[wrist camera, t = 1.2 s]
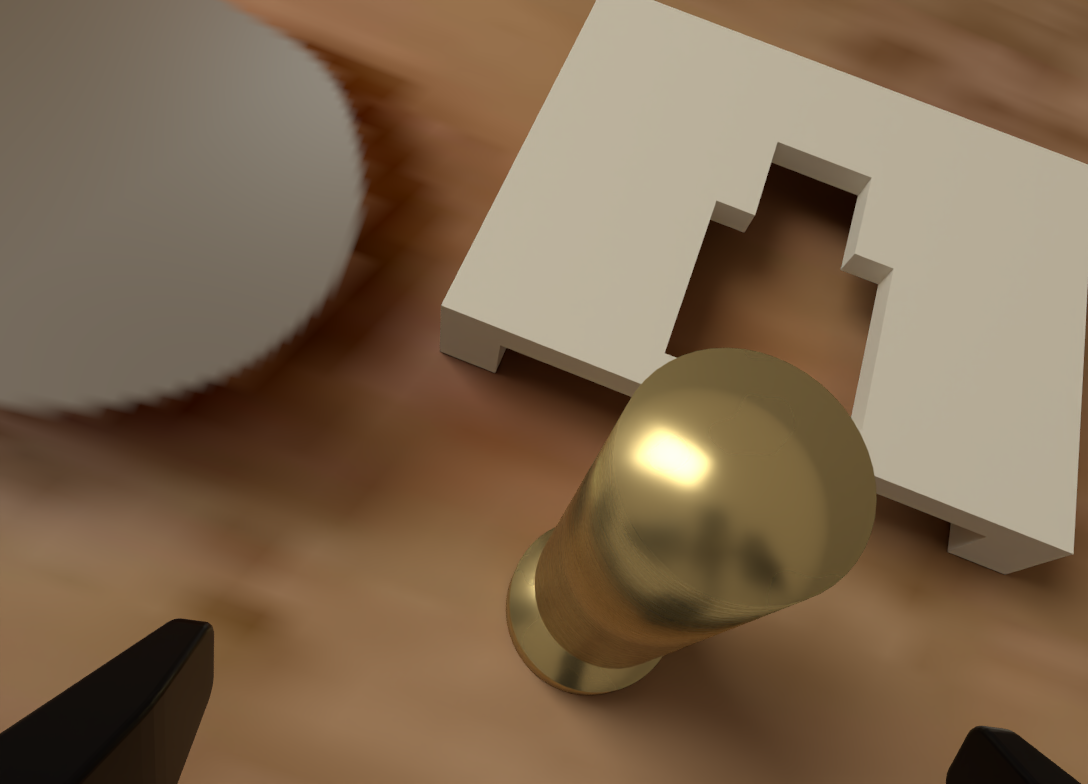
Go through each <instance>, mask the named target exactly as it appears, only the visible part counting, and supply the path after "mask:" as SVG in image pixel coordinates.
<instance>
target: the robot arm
mask: <svg viewBox="0 0 1088 784" xmlns="http://www.w3.org/2000/svg"><path fill="white" fill-rule="evenodd" d="M213 677H214V631H213V627H212V625H211V624H209V623H208V622H203V621H195V620H188V619H174V620H171V621H169V622H167V623H166V624H164V625H163V626H161V627H160V628H158V629H157V630H155V631H154V632H152V633H151V634H149V635H148V636H146V637H145V638H143V639H142V640H140V641H139V642H137V643H136V644H134V645H133V646H131V647H130V648H128V649H127V650H125V651H124V652H122V653H121V654H119V655H118V656H116V657H115V658H113V659H112V660H110V661H109V662H107V663H106V664H104V665H103V666H101V667H100V668H98V669H97V670H95V671H94V672H92V673H91V674H89V675H88V676H86V677H85V678H83V679H82V680H80V681H79V682H77V683H76V684H74V685H73V686H71V687H70V688H68V689H67V690H65V691H64V692H62V693H61V694H59V695H58V696H56V697H55V698H53V699H51V700H50V701H48V702H47V703H45V704H44V705H42V706H41V707H39V708H38V709H36V710H35V711H33V712H32V713H30V714H29V715H27V716H26V717H24V718H23V719H21V720H20V721H18V722H17V723H15V724H14V725H12V726H11V727H9V728H8V729H6V730H5V731H3V732H2V733H0V784H177V783H178V781H179V778H180V775H181V773H182V770H183V767H184V765H185V762H186V759H187V757H188V754H189V751H190V749H191V746H192V743H193V741H194V738H195V735H196V733H197V730H198V727H199V725H200V722H201V719H202V717H203V714H204V712H205V709H206V706H207V704H208V701H209V698H210V694H211V690H212V686H213ZM946 784H1081V783H1079V782H1078V781H1077V780H1076V779H1074V778H1073V777H1072V776H1070V775H1069V774H1068V773H1067V772H1065V771H1064V770H1063V769H1061V768H1060V767H1059V766H1057V765H1056V764H1055V763H1054V762H1052V761H1051V760H1050V759H1048V758H1047V757H1046V756H1045V755H1043V754H1042V753H1041V752H1039V751H1038V750H1037V749H1036V748H1034V747H1033V746H1032V745H1030V744H1029V743H1028V742H1026V741H1025V740H1024V739H1023V738H1021V737H1020V736H1019V735H1017V734H1016V733H1014V732H1012V731H1010V730H1007V729H1002V728H995V727H987V726H976V727H975V728H973V729H972V730H970V732H969V733H968V735H967V737H966V738H965V740H964V742H963V744H962V746H961V748H960V749H959V751H958V753H957V755H956V757H955V759H954V760H953V762H952V764H951V766H950V768H949V770H948V772H947V777H946Z"/></svg>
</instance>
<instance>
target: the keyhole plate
mask: <svg viewBox="0 0 1088 784" xmlns="http://www.w3.org/2000/svg"><path fill="white" fill-rule="evenodd" d="M771 162H772V163H774V164H777V165H779V166H782V167H785V168H787V169H790V170H793V171H795V172H798V173H800V174H803V175H806V176H808V177H811V178H813V179H816V180H819V181H821V182H824V183H827V184H829V185H832V186H834V187H837V188H840V189H842V190H845V191H847V192H850V193H853V194H855V195H858V197H857V202H856V206H855V210H854V214H853V219H852V223H851V227H850V232H849V236H848V240H847V245H846V249H845V253H844V257H843V262H842V266H841V270H842V271H845V272H847V273H850V274H852V275H855V276H857V277H860V278H863V279H865V280H868V281H870V282H873V283H876V284H878V288H877V293H876V298H875V303H874V308H873V313H872V318H871V323H870V328H869V332H868V337H867V342H866V347H865V352H864V357H863V362H862V367H861V372H860V377H859V382H858V387H857V392H856V396H855V401H854V406H853V411H852V416H851V418H852V420H853V421H854V423H855V425H856V427H857V428H858V430H859V432H860V434H861V435H862V438H863V440H864V442H865V445H866V447H867V449H868V452H869V455H870V459H871V462H872V465H873V470H874V476H875V482H876V494H879V495H881V496H884V497H887V498H889V499H892V500H894V501H897V502H899V503H902V504H904V505H907V506H909V507H912V508H914V509H917V510H920V511H922V512H925V513H927V514H930V515H932V516H935V517H937V518H940V519H942V520H945V521H947V522H950V523H951V527H950V535H949V543H948V550H947V552H949V553H951V554H954V555H956V556H959V557H962V558H964V559H967V560H969V561H972V562H974V563H977V564H979V565H982V566H984V567H987V568H989V569H992V570H994V571H997V572H1000V573H1002V574H1005V575H1006V574H1009V573H1012V572H1016V571H1019V570H1022V569H1026V568H1029V567H1032V566H1036V565H1039V564H1042V563H1046V562H1049V561H1052V560H1056V559H1059V558H1062V557H1066V556H1069V555H1072V554H1074V535H1075V516H1076V497H1077V478H1078V459H1079V440H1080V421H1081V402H1082V383H1083V364H1084V345H1085V326H1086V307H1087V288H1088V164H1085V163H1082V162H1080V161H1077V160H1074V159H1072V158H1069V157H1066V156H1064V155H1061V154H1058V153H1056V152H1053V151H1051V150H1048V149H1045V148H1043V147H1040V146H1037V145H1035V144H1032V143H1029V142H1027V141H1024V140H1021V139H1019V138H1016V137H1013V136H1011V135H1008V134H1006V133H1003V132H1000V131H998V130H995V129H992V128H990V127H987V126H984V125H982V124H979V123H976V122H974V121H971V120H968V119H966V118H963V117H961V116H958V115H955V114H953V113H950V112H947V111H945V110H942V109H939V108H937V107H934V106H931V105H929V104H926V103H923V102H921V101H918V100H916V99H913V98H910V97H908V96H905V95H902V94H900V93H897V92H894V91H892V90H889V89H886V88H884V87H881V86H879V85H876V84H873V83H871V82H868V81H865V80H863V79H860V78H857V77H855V76H852V75H849V74H847V73H844V72H841V71H839V70H836V69H834V68H831V67H828V66H826V65H823V64H820V63H818V62H815V61H812V60H810V59H807V58H804V57H802V56H799V55H796V54H794V53H791V52H789V51H786V50H783V49H781V48H778V47H775V46H773V45H770V44H767V43H765V42H762V41H759V40H757V39H754V38H752V37H749V36H746V35H744V34H741V33H738V32H736V31H733V30H730V29H728V28H725V27H722V26H720V25H717V24H714V23H712V22H709V21H707V20H704V19H701V18H699V17H696V16H693V15H691V14H688V13H685V12H683V11H680V10H677V9H675V8H672V7H669V6H667V5H664V4H662V3H659V2H656V1H654V0H596V2H595V4H594V6H593V8H592V10H591V12H590V14H589V16H588V18H587V20H586V22H585V24H584V26H583V28H582V30H581V32H580V34H579V36H578V38H577V40H576V42H575V44H574V46H573V48H572V49H571V51H570V53H569V55H568V57H567V59H566V61H565V63H564V65H563V67H562V69H561V71H560V73H559V75H558V77H557V79H556V81H555V83H554V85H553V87H552V89H551V91H550V93H549V95H548V97H547V99H546V101H545V102H544V104H543V106H542V108H541V110H540V112H539V114H538V116H537V118H536V120H535V122H534V124H533V126H532V128H531V130H530V132H529V134H528V136H527V138H526V140H525V142H524V144H523V146H522V148H521V150H520V152H519V154H518V155H517V157H516V159H515V161H514V163H513V165H512V167H511V169H510V171H509V173H508V175H507V177H506V179H505V181H504V183H503V185H502V187H501V189H500V191H499V193H498V195H497V197H496V199H495V201H494V203H493V205H492V207H491V209H490V210H489V212H488V214H487V216H486V218H485V220H484V222H483V224H482V226H481V228H480V230H479V232H478V234H477V236H476V238H475V240H474V242H473V244H472V246H471V248H470V250H469V252H468V254H467V256H466V258H465V260H464V262H463V263H462V265H461V267H460V269H459V271H458V273H457V275H456V277H455V279H454V281H453V283H452V285H451V287H450V289H449V291H448V293H447V295H446V297H445V299H444V301H443V303H442V305H441V327H440V352H443V353H445V354H448V355H451V356H453V357H456V358H458V359H461V360H463V361H466V362H468V363H471V364H473V365H476V366H478V367H481V368H483V369H486V370H488V371H491V372H494V373H495V372H496V370H497V368H498V366H499V363H500V361H501V359H502V357H503V355H504V352H505V350H506V348H508V349H511V350H514V351H516V352H519V353H521V354H524V355H526V356H529V357H531V358H534V359H536V360H539V361H541V362H544V363H547V364H549V365H552V366H554V367H557V368H559V369H562V370H564V371H567V372H569V373H572V374H574V375H577V376H579V377H582V378H585V379H587V380H590V381H592V382H595V383H597V384H600V385H602V386H605V387H607V388H610V389H612V390H615V391H618V392H620V393H623V394H625V395H628V396H630V397H632V396H633V394H634V393H635V391H636V390H637V389H638V387H639V386H640V385H641V384H642V383H643V382H644V380H645V379H646V378H648V377H649V376H650V375H651V374H652V373H653V372H654V371H656V370H657V369H658V368H660V367H662V366H663V365H665V364H666V363H668V362H669V361H672V360H674V359H676V357H673V356H671V355H668V354H666V353H665V351H666V348H667V345H668V342H669V339H670V336H671V333H672V330H673V327H674V324H675V321H676V318H677V315H678V312H679V309H680V306H681V304H682V301H683V298H684V295H685V292H686V289H687V286H688V283H689V280H690V277H691V274H692V271H693V268H694V265H695V262H696V259H697V256H698V253H699V251H700V248H701V245H702V242H703V239H704V236H705V233H706V230H707V227H708V224H709V221H710V220H712V221H715V222H718V223H720V224H723V225H725V226H728V227H730V228H733V229H736V230H738V231H741V232H743V233H744V232H745V231H746V229H747V228H748V226H749V224H750V223H751V221H752V219H753V218H754V216H755V214H756V211H757V207H758V204H759V201H760V198H761V194H762V191H763V188H764V185H765V181H766V178H767V175H768V171H769V168H770V165H771Z"/></svg>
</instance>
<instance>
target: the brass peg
mask: <svg viewBox="0 0 1088 784" xmlns="http://www.w3.org/2000/svg"><path fill="white" fill-rule="evenodd" d="M876 502H877V499H876V482H875V476H874V470H873V465H872V462H871V459H870V455H869V452H868V449H867V447H866V445H865V442H864V440H863V438H862V435H861V434H860V432H859V430H858V428H857V427H856V425H855V423H854V421H853V420H852V418H851V417H850V416H849V414H848V413H847V412H846V410H845V409H844V407H843V406H842V405H841V404H840V403H839V402H838V401H837V399H836V398H835V397H834V396H833V395H832V394H831V393H830V392H829V391H828V390H827V389H825V388H824V387H823V386H822V385H821V384H820V383H819V382H817V381H816V380H815V379H813V378H812V377H811V376H809V375H808V374H807V373H805V372H803V371H802V370H800V369H798V368H797V367H795V366H793V365H791V364H789V363H787V362H785V361H783V360H780V359H778V358H776V357H773V356H770V355H767V354H764V353H760V352H756V351H751V350H746V349H737V348H712V349H706V350H700V351H695V352H692V353H689V354H685V355H682V356H680V357H678V358H676V359H674V360H672V361H669V362H668V363H666V364H665V365H663V366H662V367H660V368H658V369H657V370H656V371H654V372H653V373H652V374H651V375H650V376H649V377H648V378H646V379H645V380H644V382H643V383H642V384H641V385H640V386H639V387H638V389H637V390H636V391H635V393H634V394H633V396H632V397H631V399H630V401H629V402H628V404H627V406H626V407H625V409H624V411H623V412H622V414H621V416H620V418H619V419H618V421H617V423H616V424H615V426H614V428H613V430H612V431H611V433H610V435H609V437H608V438H607V440H606V442H605V443H604V445H603V447H602V449H601V450H600V452H599V454H598V455H597V457H596V459H595V461H594V462H593V464H592V466H591V467H590V469H589V471H588V473H587V474H586V476H585V478H584V480H583V481H582V483H581V485H580V486H579V488H578V490H577V492H576V493H575V495H574V497H573V498H572V500H571V502H570V504H569V505H568V507H567V509H566V510H565V512H564V514H563V516H562V517H561V519H560V521H559V522H558V524H557V526H556V527H555V528H553V529H551V530H549V531H548V532H546V533H545V534H543V535H542V536H540V537H539V538H538V539H537V540H536V541H535V542H534V543H533V544H532V545H531V546H530V547H529V548H528V550H527V551H526V552H525V554H524V555H523V557H522V558H521V560H520V562H519V564H518V566H517V568H516V570H515V572H514V574H513V576H512V579H511V582H510V585H509V588H508V593H507V599H506V619H507V625H508V630H509V634H510V637H511V639H512V642H513V645H514V647H515V649H516V651H517V653H518V654H519V656H520V657H521V659H522V660H523V662H524V663H525V664H526V665H527V666H528V668H529V669H530V670H531V671H532V672H533V673H534V674H535V675H537V676H538V677H539V678H540V679H542V680H543V681H545V682H546V683H548V684H549V685H551V686H553V687H555V688H557V689H559V690H562V691H565V692H569V693H573V694H579V695H598V694H604V693H608V692H612V691H615V690H618V689H622V688H624V687H627V686H629V685H631V684H633V683H635V682H637V681H638V680H640V679H641V678H643V677H644V676H645V675H646V674H648V673H649V672H650V671H651V670H652V669H653V668H654V667H655V666H656V665H657V663H658V662H659V661H660V659H661V658H662V656H663V655H666V654H669V653H671V652H674V651H676V650H679V649H681V648H684V647H687V646H689V645H692V644H694V643H697V642H699V641H702V640H704V639H707V638H710V637H712V636H715V635H717V634H720V633H722V632H725V631H727V630H730V629H733V628H735V627H738V626H740V625H743V624H745V623H748V622H751V621H753V620H756V619H758V618H761V617H763V616H766V615H768V614H771V613H774V612H776V611H779V610H781V609H784V608H786V607H789V606H791V605H794V604H797V603H799V602H802V601H804V600H807V599H809V598H811V597H814V596H816V595H818V594H821V593H822V592H824V591H825V590H827V589H829V588H830V587H832V586H833V585H835V584H836V583H837V582H838V581H839V580H841V579H842V578H843V577H844V576H845V575H846V574H847V573H848V572H849V571H850V570H851V568H852V567H853V566H854V565H855V564H856V562H857V561H858V559H859V557H860V556H861V554H862V552H863V551H864V549H865V547H866V545H867V542H868V540H869V537H870V535H871V532H872V528H873V523H874V519H875V512H876Z"/></svg>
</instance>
